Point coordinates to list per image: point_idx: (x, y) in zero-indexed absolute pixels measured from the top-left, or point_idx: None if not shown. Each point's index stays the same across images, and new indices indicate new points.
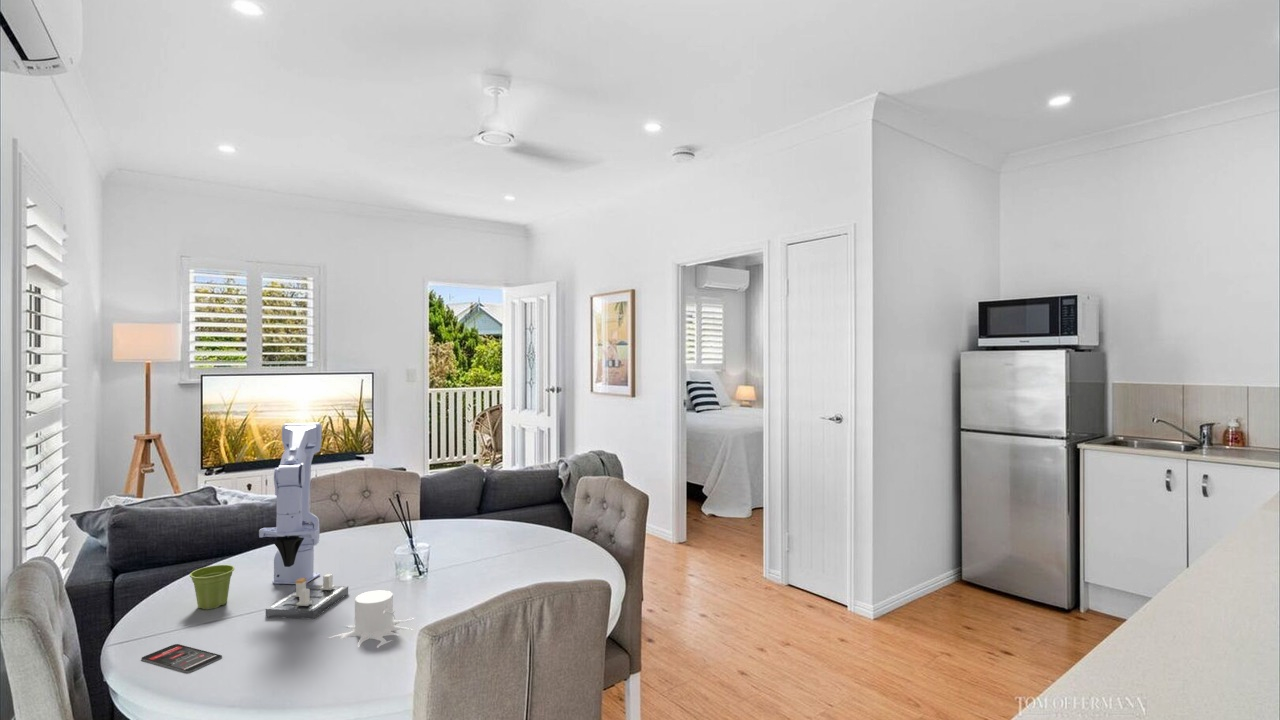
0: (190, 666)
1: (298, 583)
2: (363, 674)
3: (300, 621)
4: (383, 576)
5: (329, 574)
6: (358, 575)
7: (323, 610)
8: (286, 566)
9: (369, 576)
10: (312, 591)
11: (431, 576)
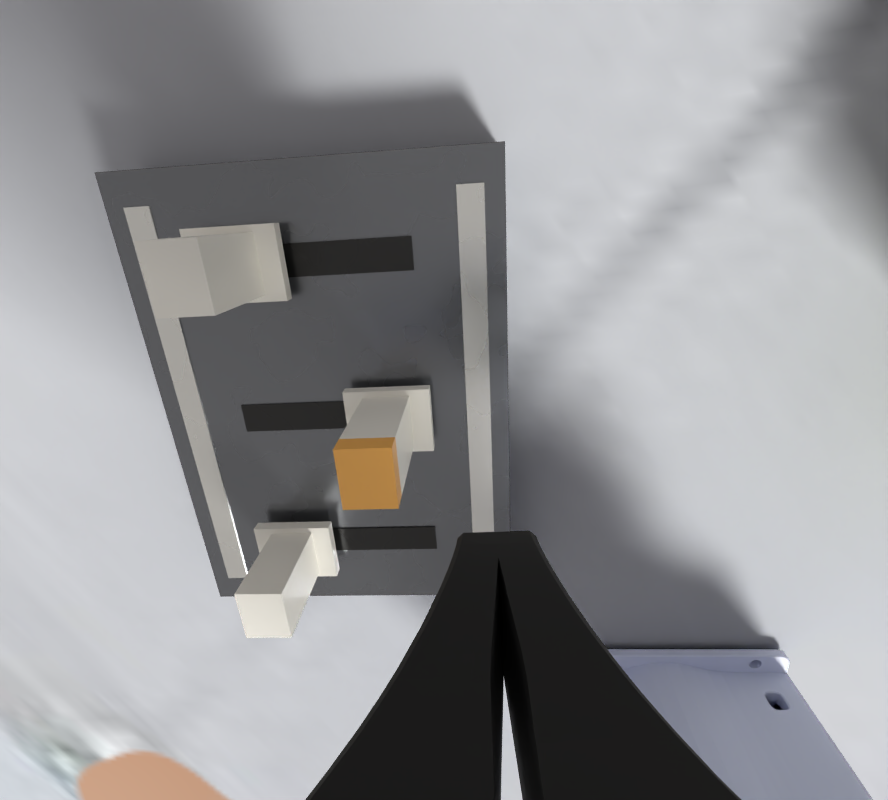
0: None
1: (373, 437)
2: None
3: (194, 118)
4: (241, 758)
5: (264, 631)
6: None
7: None
8: (501, 534)
9: (308, 755)
10: None
11: (24, 767)
